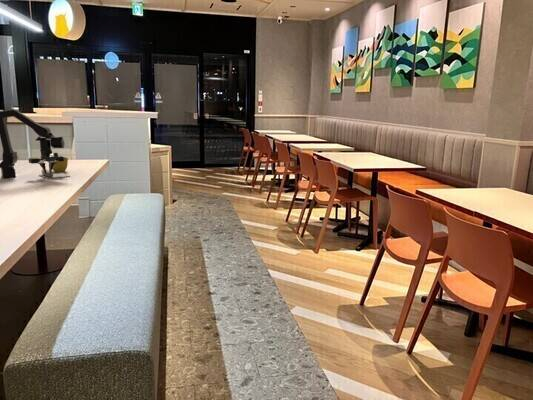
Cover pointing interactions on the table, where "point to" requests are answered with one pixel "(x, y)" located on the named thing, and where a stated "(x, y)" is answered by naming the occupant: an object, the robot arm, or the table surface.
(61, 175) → the slate board
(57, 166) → the flower pot
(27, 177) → the table surface
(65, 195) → the table surface
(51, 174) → the block
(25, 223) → the table surface
